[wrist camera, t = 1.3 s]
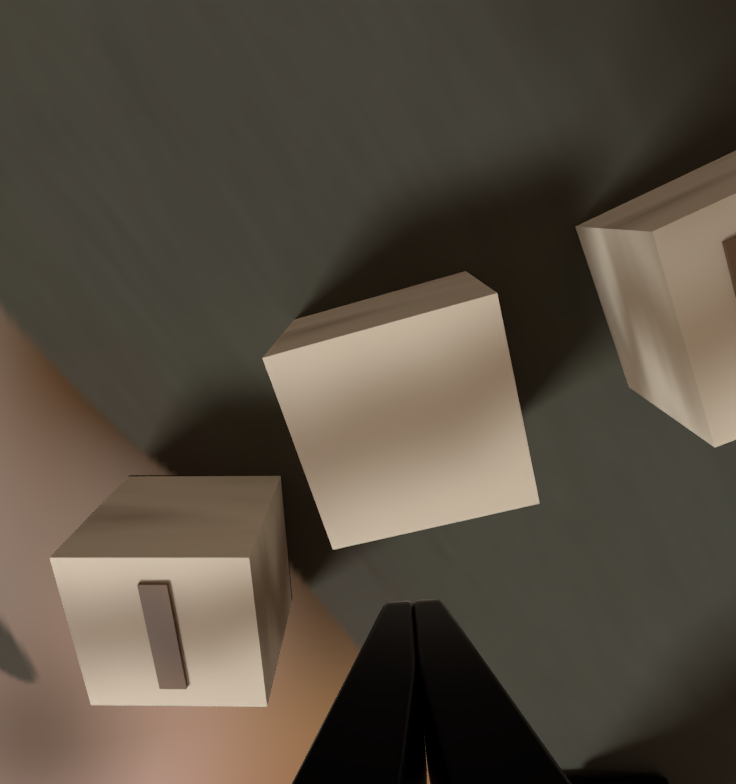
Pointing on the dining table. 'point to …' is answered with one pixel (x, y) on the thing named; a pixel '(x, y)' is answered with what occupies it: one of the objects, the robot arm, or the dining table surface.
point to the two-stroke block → (674, 295)
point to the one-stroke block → (179, 591)
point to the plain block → (405, 410)
